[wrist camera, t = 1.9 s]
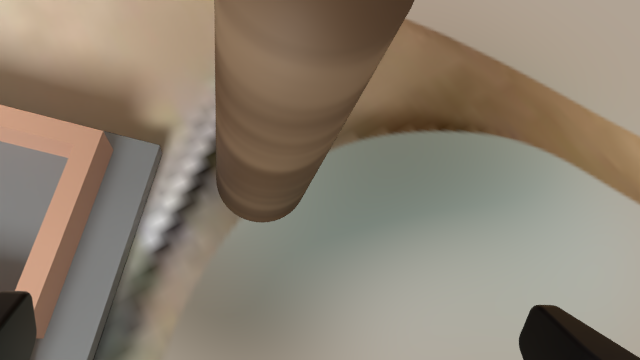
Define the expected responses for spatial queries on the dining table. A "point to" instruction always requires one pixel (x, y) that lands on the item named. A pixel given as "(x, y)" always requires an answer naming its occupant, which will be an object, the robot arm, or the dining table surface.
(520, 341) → the robot arm
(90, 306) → the board
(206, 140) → the dining table surface
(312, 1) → the walnut pin
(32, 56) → the dining table surface
